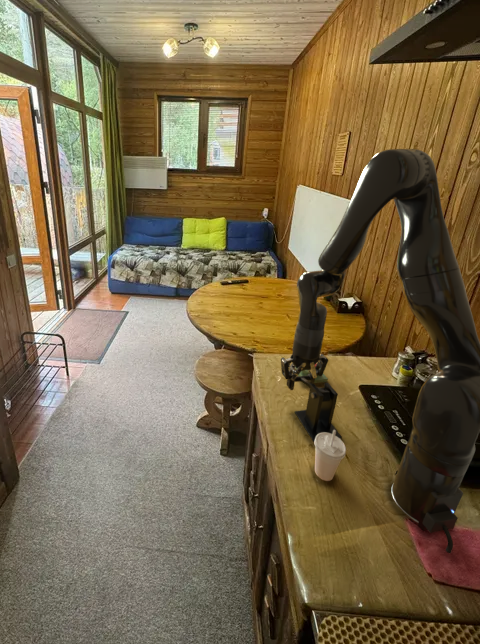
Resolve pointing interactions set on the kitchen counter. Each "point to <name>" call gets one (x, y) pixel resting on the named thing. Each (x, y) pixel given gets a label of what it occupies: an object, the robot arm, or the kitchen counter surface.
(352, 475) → the kitchen counter surface
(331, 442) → the smoothie
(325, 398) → the lever
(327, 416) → the bracket
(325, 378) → the control block
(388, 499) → the kitchen counter surface
